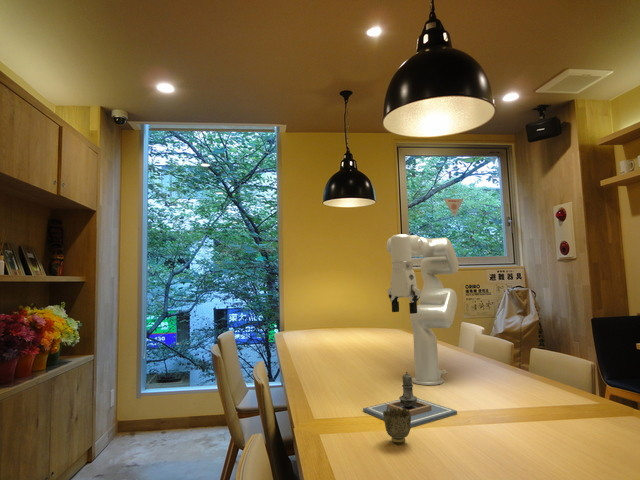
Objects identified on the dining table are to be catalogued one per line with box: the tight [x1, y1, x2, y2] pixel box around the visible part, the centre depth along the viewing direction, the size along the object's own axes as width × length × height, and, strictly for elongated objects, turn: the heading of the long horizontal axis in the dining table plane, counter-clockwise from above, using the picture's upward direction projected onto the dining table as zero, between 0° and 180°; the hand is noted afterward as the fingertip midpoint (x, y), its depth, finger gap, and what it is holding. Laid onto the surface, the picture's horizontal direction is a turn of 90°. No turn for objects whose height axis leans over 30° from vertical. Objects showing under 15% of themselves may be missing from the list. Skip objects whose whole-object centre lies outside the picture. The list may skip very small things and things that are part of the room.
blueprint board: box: [362, 397, 458, 429], centre depth 132 cm, size 22×20×2 cm
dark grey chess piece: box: [398, 371, 419, 410], centre depth 133 cm, size 6×6×12 cm
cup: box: [383, 408, 411, 446], centre depth 109 cm, size 8×7×8 cm
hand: (404, 312), depth 154 cm, fingers open, 9 cm apart
